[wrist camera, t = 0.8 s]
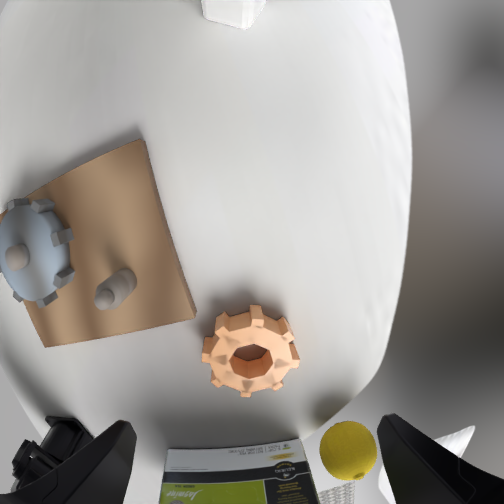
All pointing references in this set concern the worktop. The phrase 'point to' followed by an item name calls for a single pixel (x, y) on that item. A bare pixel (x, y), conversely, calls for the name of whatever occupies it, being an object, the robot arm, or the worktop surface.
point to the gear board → (95, 252)
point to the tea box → (239, 475)
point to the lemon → (348, 450)
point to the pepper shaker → (233, 11)
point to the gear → (246, 333)
